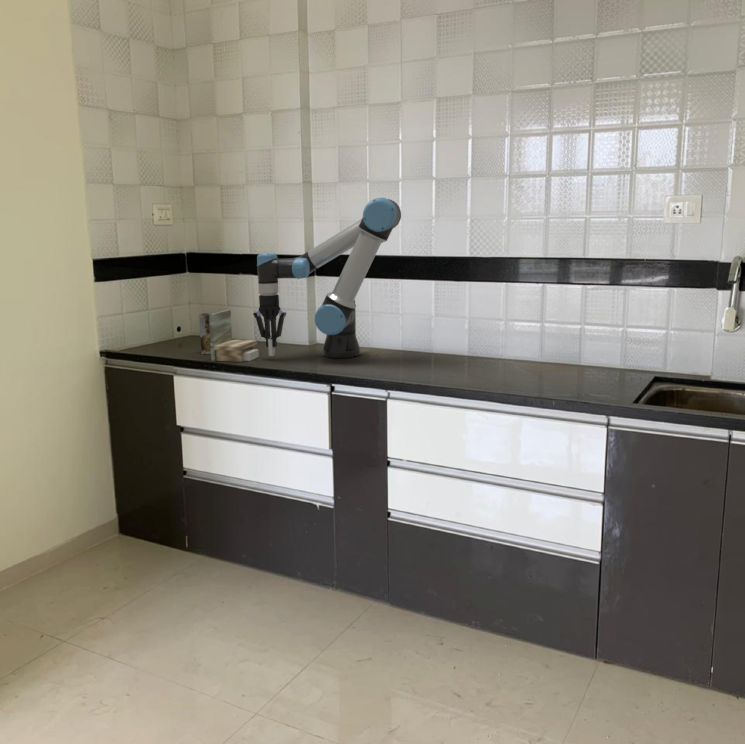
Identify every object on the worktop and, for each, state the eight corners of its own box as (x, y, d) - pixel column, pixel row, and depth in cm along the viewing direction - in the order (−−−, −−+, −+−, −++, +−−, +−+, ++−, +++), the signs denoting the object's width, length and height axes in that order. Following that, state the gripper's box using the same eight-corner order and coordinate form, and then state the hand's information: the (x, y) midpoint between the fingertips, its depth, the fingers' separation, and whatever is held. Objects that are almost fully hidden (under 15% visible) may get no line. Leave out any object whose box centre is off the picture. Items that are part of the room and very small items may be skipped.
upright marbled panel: (257, 355, 296) (255, 310, 293) (241, 362, 281) (238, 315, 277) (229, 354, 299) (227, 309, 296) (211, 361, 284) (208, 314, 280)
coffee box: (227, 351, 306) (225, 312, 302) (222, 354, 299) (220, 314, 296) (205, 351, 306) (203, 312, 303) (200, 354, 300) (198, 314, 297)
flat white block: (258, 356, 292) (258, 349, 292) (249, 360, 284) (249, 353, 283) (233, 355, 295) (232, 348, 294) (223, 359, 286) (223, 352, 286)
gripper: (288, 293, 283) (291, 354, 288) (256, 293, 287) (260, 353, 291) (281, 295, 276) (284, 357, 281) (248, 295, 279) (252, 356, 284)
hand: (271, 355), depth 286 cm, fingers closed
